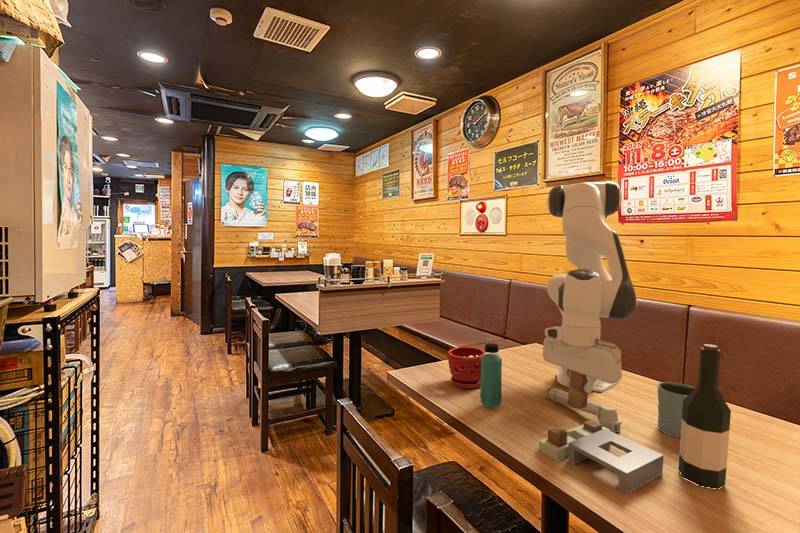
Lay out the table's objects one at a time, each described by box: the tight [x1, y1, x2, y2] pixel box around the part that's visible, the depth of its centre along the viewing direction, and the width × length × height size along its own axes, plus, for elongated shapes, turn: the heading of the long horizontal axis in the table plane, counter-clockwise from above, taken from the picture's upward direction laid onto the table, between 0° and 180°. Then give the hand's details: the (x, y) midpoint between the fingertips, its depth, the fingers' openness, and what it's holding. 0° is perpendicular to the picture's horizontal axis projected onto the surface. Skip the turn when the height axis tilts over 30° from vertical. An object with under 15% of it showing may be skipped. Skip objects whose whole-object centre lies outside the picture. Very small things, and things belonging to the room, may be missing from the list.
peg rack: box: [538, 423, 610, 462], centre depth 103 cm, size 21×5×2 cm, turn 120°
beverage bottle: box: [479, 342, 503, 408], centre depth 124 cm, size 6×7×20 cm
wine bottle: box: [678, 343, 732, 490], centre depth 88 cm, size 8×8×30 cm
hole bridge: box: [567, 429, 664, 494], centre depth 93 cm, size 14×14×4 cm
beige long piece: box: [546, 387, 622, 433], centre depth 121 cm, size 5×7×25 cm
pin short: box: [583, 419, 602, 433], centre depth 107 cm, size 3×3×4 cm
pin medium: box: [547, 426, 568, 448], centre depth 100 cm, size 3×3×6 cm
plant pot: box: [447, 346, 486, 390], centre depth 144 cm, size 13×13×12 cm
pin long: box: [567, 370, 589, 410], centre depth 102 cm, size 3×3×9 cm
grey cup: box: [657, 381, 696, 438], centre depth 111 cm, size 10×10×12 cm
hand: (578, 388), depth 102 cm, fingers closed on pin long, 3 cm apart
